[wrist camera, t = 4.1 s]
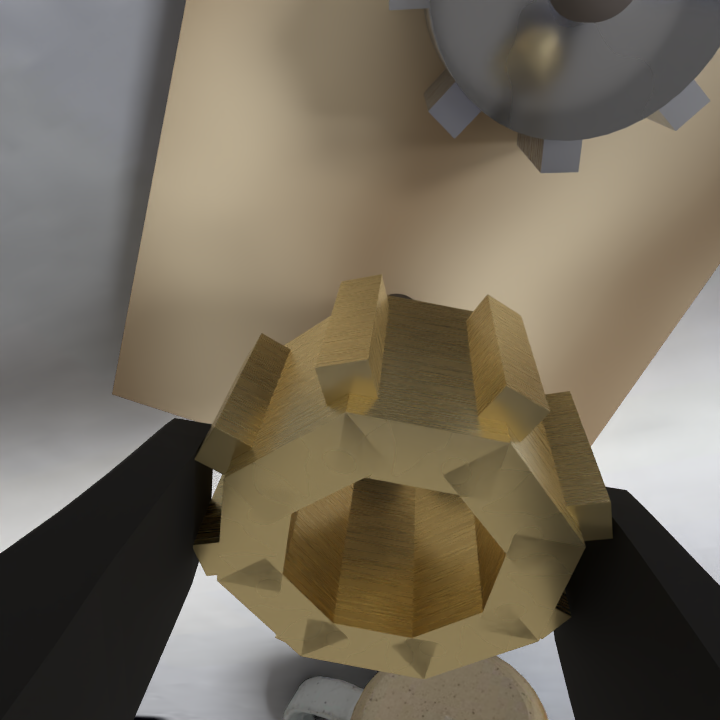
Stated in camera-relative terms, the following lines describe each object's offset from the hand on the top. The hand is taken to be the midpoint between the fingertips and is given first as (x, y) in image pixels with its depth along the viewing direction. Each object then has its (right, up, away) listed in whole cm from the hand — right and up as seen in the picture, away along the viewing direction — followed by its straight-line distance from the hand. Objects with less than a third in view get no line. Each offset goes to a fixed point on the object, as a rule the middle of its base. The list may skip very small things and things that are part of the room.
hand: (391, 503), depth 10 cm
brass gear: (0, +1, +2) cm, 2 cm away
